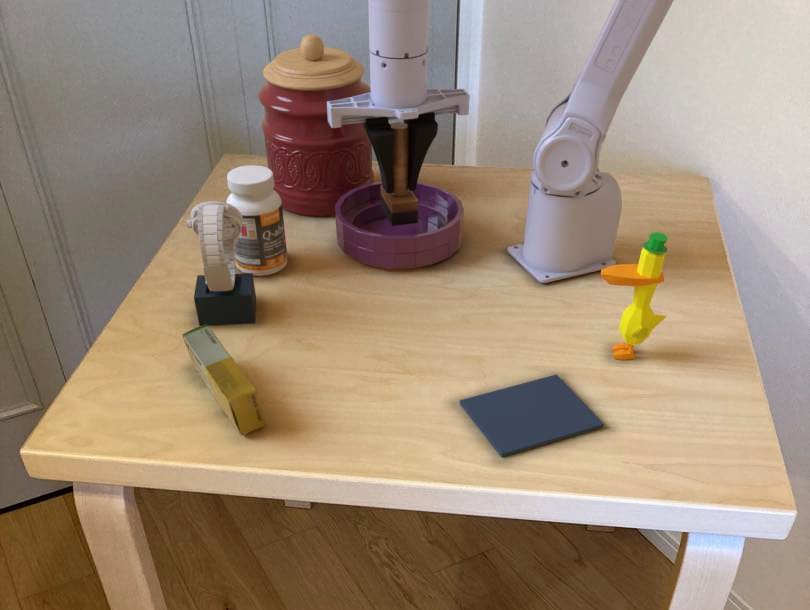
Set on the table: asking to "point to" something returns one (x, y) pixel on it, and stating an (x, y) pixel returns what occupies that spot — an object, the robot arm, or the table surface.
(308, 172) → the kitchen canister
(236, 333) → the table surface
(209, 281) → the watch
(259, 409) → the medication box
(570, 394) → the mat
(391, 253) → the bowl
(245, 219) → the pill bottle
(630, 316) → the toy figure
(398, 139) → the wooden peg on base
